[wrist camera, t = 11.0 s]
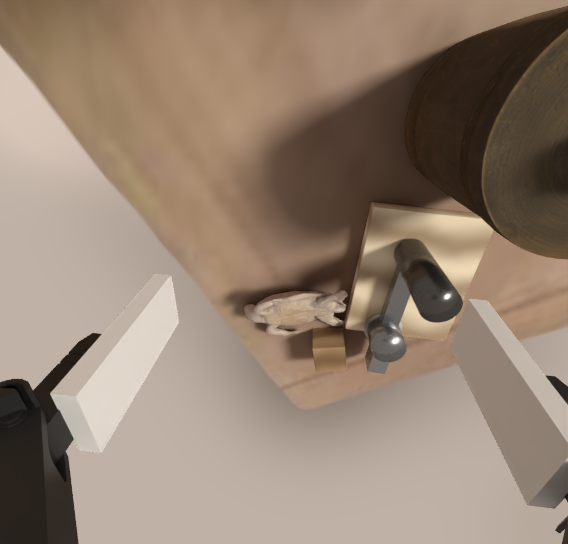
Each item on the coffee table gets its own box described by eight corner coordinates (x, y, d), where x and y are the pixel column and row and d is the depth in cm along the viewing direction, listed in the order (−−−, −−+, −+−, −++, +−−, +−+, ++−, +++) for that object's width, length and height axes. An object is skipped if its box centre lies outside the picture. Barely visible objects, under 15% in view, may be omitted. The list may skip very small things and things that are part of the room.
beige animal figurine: (336, 255, 46) (328, 267, 37) (368, 312, 46) (367, 339, 37) (249, 301, 51) (221, 322, 41) (278, 353, 51) (257, 385, 42)
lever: (387, 360, 47) (405, 428, 38) (358, 355, 48) (368, 422, 38) (433, 241, 38) (472, 292, 28) (396, 236, 38) (423, 285, 28)
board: (371, 201, 39) (374, 207, 37) (489, 214, 38) (499, 221, 36) (342, 328, 48) (343, 338, 46) (436, 340, 48) (441, 351, 46)
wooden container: (486, 210, 38) (657, 330, 19) (377, 152, 36) (447, 223, 17) (597, 76, 31) (1052, 53, 12) (469, -4, 29) (770, -191, 10)
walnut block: (312, 328, 49) (312, 348, 45) (342, 326, 48) (344, 347, 44) (315, 350, 51) (315, 371, 47) (344, 348, 50) (346, 370, 46)
